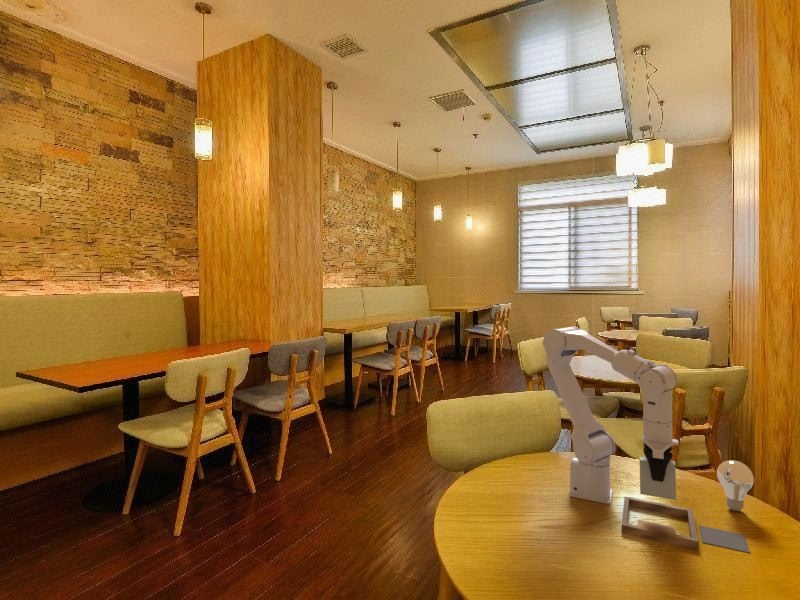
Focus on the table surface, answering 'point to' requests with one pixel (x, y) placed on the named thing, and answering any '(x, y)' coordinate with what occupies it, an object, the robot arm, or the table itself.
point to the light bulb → (735, 482)
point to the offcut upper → (656, 526)
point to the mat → (724, 539)
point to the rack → (656, 534)
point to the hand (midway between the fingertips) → (657, 478)
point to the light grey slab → (656, 487)
